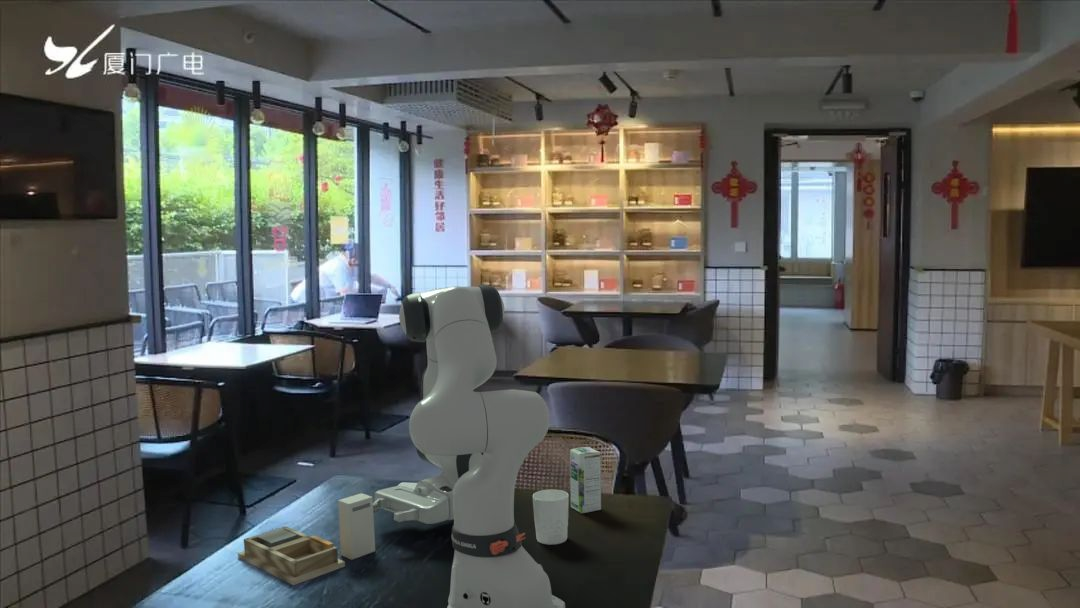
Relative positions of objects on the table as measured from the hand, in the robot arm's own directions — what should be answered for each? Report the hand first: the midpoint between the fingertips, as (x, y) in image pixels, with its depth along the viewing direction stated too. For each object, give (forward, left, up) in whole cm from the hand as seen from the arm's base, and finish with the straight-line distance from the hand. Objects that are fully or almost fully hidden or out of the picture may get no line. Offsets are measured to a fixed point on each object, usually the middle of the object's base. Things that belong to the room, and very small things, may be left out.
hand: (382, 513), depth 189 cm
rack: (+7, +19, -7) cm, 21 cm away
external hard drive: (+24, -25, -8) cm, 36 cm away
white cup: (-27, -25, -7) cm, 38 cm away
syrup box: (-20, -45, -7) cm, 50 cm away
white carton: (0, +7, -7) cm, 10 cm away
